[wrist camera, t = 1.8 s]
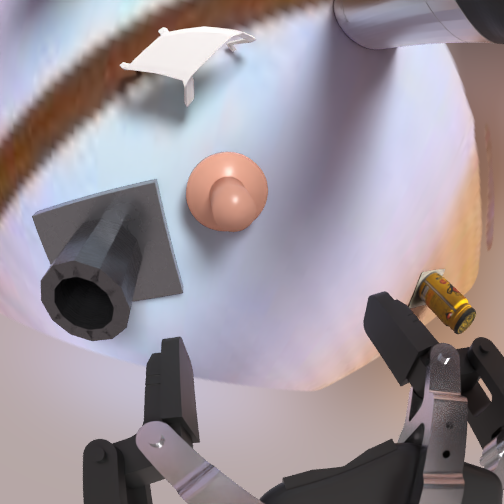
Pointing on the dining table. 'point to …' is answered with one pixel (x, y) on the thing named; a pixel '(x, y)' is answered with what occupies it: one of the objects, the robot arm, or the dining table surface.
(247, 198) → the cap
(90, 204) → the flanged pipe socket
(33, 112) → the dining table surface
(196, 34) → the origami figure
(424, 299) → the condiment
